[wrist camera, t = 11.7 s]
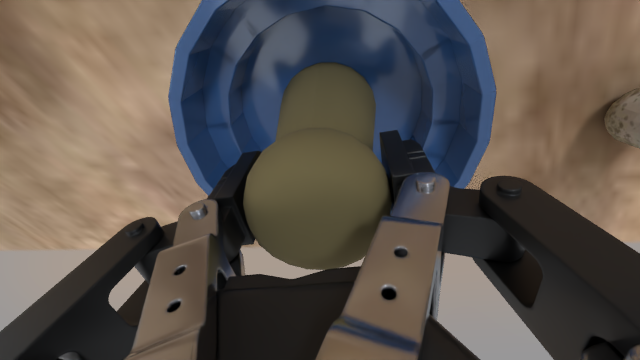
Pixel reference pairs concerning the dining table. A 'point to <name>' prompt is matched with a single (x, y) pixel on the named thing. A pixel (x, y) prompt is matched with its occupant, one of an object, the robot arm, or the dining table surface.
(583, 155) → the dining table surface
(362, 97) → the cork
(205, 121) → the bowl
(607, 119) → the mushroom
